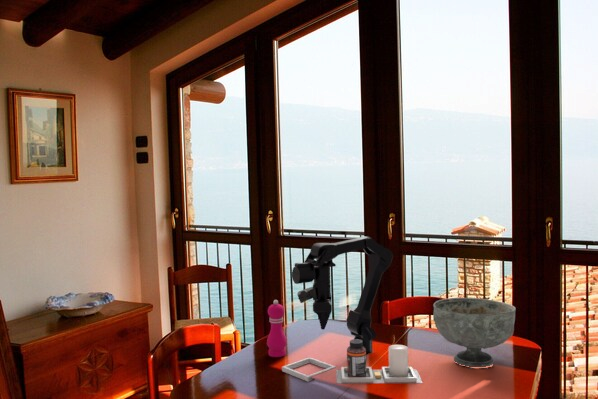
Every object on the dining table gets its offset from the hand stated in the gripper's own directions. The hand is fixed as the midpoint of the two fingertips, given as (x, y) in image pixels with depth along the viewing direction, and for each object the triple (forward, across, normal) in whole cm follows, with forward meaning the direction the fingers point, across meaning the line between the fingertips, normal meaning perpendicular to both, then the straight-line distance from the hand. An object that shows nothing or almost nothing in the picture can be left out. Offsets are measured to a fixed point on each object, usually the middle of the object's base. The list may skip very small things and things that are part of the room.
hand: (323, 325), depth 183 cm
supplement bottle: (+12, +16, +10) cm, 22 cm away
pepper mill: (+13, -8, -17) cm, 23 cm away
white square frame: (+13, +8, -5) cm, 16 cm away
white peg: (+12, +16, +24) cm, 31 cm away
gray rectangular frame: (+13, +16, +17) cm, 26 cm away
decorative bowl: (+13, 0, +51) cm, 53 cm away
